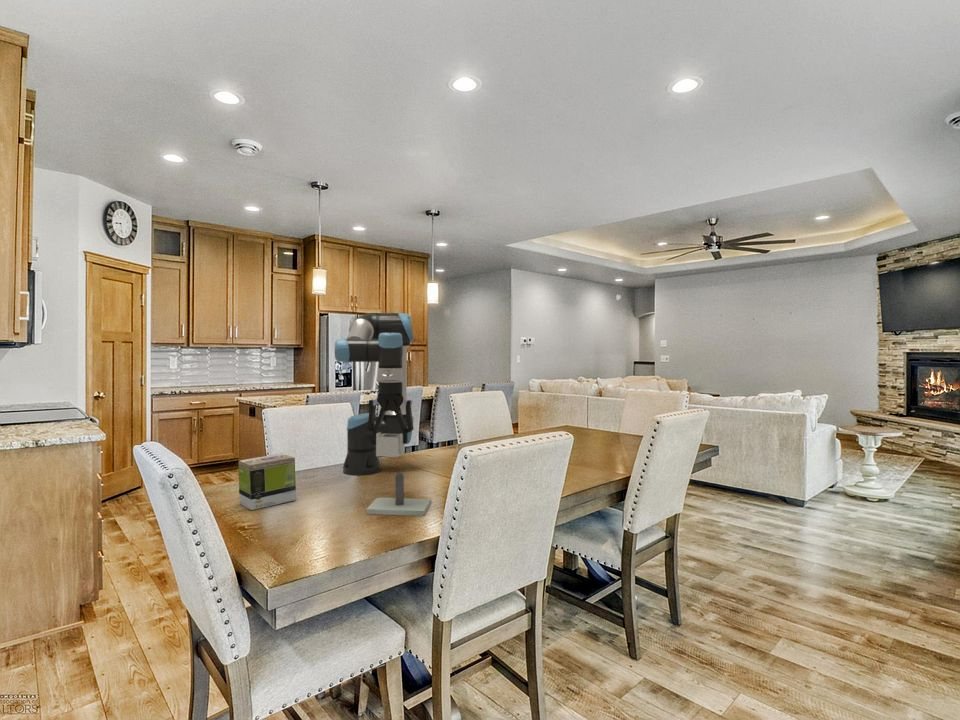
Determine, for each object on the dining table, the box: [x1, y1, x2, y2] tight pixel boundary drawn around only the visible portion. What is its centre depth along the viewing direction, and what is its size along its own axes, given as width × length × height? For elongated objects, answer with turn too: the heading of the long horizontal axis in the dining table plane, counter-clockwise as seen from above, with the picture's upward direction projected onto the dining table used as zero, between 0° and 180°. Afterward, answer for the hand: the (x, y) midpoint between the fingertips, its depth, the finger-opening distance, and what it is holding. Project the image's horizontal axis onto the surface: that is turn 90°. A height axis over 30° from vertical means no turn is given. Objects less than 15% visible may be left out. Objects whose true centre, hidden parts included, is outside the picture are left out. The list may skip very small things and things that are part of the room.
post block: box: [365, 471, 432, 517], centre depth 165 cm, size 12×18×12 cm, turn 85°
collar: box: [376, 434, 401, 458], centre depth 165 cm, size 7×7×6 cm
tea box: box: [238, 452, 297, 511], centre depth 171 cm, size 15×10×15 cm
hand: (390, 453), depth 166 cm, fingers closed on collar, 7 cm apart
